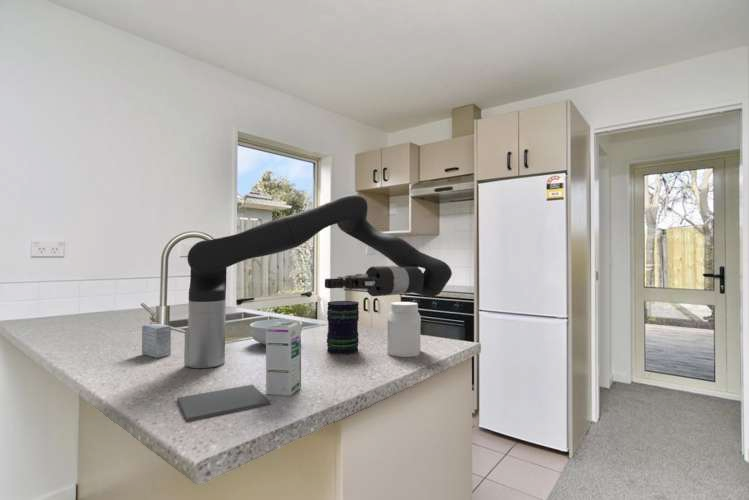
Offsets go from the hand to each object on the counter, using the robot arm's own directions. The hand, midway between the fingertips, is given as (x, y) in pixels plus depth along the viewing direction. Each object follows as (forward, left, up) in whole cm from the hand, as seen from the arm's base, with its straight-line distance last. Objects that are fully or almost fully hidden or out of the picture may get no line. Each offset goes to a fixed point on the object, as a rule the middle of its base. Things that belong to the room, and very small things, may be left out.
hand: (326, 283), depth 91 cm
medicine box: (-53, +23, -23) cm, 62 cm away
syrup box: (-8, -6, -23) cm, 25 cm away
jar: (+20, +30, -23) cm, 43 cm away
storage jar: (+1, +31, -23) cm, 39 cm away
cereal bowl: (-22, +39, -23) cm, 51 cm away
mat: (-18, -13, -23) cm, 32 cm away
